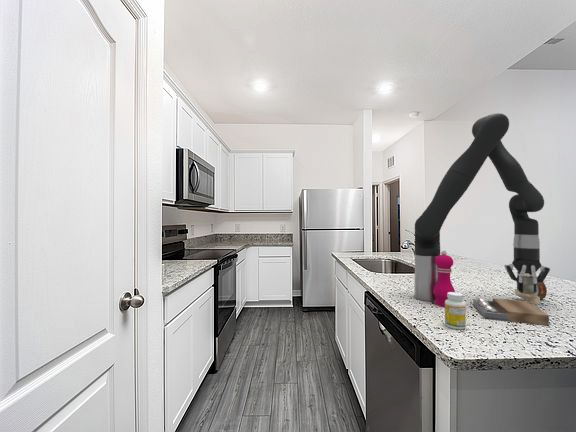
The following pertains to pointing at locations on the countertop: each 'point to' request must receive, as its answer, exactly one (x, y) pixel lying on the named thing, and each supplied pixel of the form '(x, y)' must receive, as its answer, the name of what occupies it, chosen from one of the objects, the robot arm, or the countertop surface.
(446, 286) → the pepper mill
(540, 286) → the tin
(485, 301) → the disc
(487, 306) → the disc
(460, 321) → the supplement bottle
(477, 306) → the tray
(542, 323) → the walnut board
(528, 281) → the scraper
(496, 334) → the countertop surface
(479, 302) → the disc
